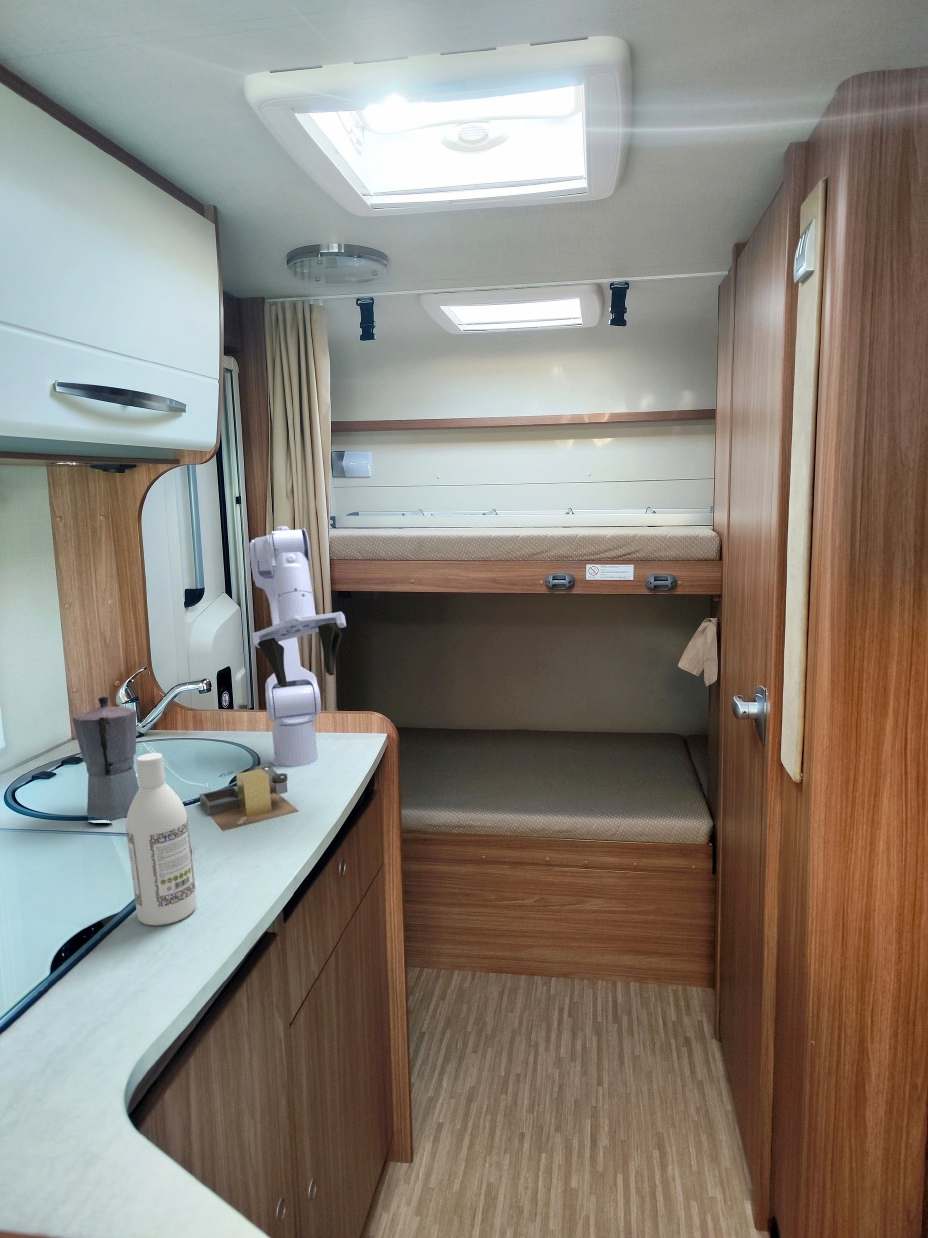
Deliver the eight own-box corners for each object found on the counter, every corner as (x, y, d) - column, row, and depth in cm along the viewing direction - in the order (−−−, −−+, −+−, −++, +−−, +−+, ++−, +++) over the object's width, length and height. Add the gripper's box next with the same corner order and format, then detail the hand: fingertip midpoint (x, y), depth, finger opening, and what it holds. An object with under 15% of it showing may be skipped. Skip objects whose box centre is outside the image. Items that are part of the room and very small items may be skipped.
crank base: (201, 809, 131) (199, 794, 131) (271, 792, 137) (270, 778, 137) (223, 837, 119) (221, 820, 119) (299, 817, 125) (298, 801, 125)
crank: (254, 791, 135) (251, 762, 134) (271, 787, 136) (269, 758, 136) (275, 810, 125) (272, 780, 125) (293, 806, 127) (291, 775, 126)
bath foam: (208, 900, 100) (191, 747, 97) (177, 929, 93) (158, 766, 90) (159, 897, 101) (141, 747, 98) (125, 926, 95) (104, 765, 92)
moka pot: (145, 796, 139) (132, 685, 136) (152, 826, 125) (137, 703, 122) (85, 808, 135) (70, 694, 132) (85, 840, 121) (68, 713, 118)
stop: (239, 810, 127) (236, 774, 126) (264, 803, 129) (260, 768, 128) (247, 817, 124) (243, 780, 123) (271, 811, 126) (268, 775, 125)
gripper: (241, 601, 122) (250, 684, 117) (331, 578, 121) (344, 661, 116) (258, 615, 129) (268, 695, 124) (344, 594, 128) (357, 673, 123)
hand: (306, 679), depth 121 cm, fingers open, 7 cm apart
